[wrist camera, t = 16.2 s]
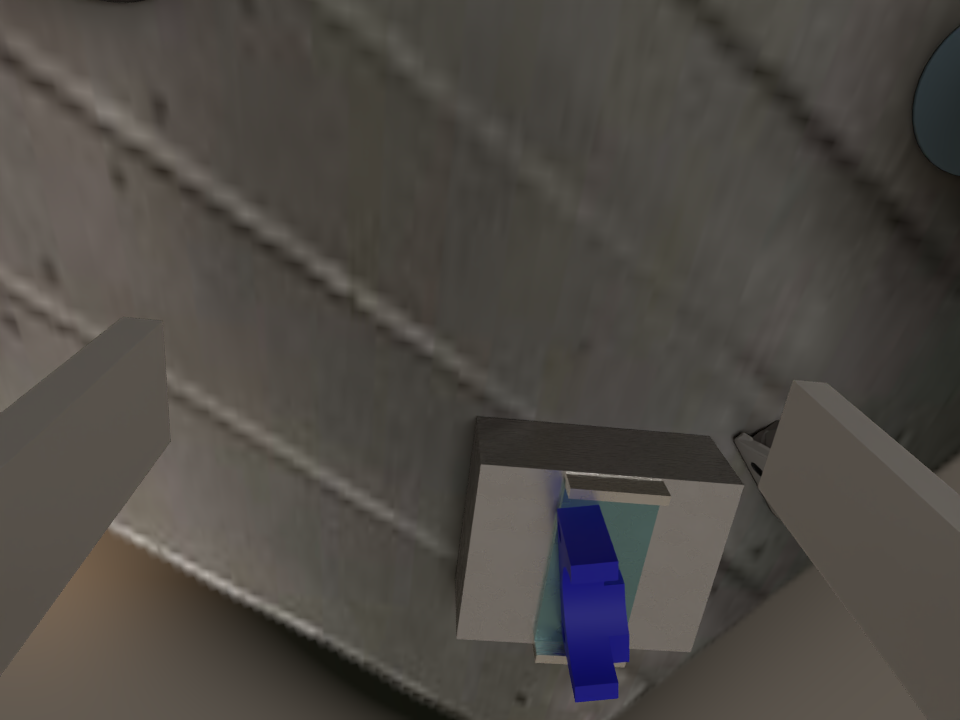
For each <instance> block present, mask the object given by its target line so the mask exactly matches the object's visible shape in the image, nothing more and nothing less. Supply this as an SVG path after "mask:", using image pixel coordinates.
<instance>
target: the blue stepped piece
mask: <svg viewBox="0 0 960 720" xmlns="http://www.w3.org/2000/svg"><path fill="white" fill-rule="evenodd" d="M557 526H558V550H559V574H560V597H561V621H562V638H563V643H564V648H565V653H566V658H567V663H568V668H569V673H570V678H571V683H572V688H573V693H574V698H575V702H585V701H595V700H606V699H616V698H618V680H617V676H616V672H615V667H614V663H621V662H629V629H628V622H627V613H626V603H625V583H624V580H623V577H622V574H621V571H620V570H618V559H617V556H616V553H615V550H614V547H613V544H612V541H611V538H610V535H609V532H608V529H607V527H606V524H605V521H604V518H603V515H602V512H601V509H600V506H599V505H590V506H580V507H569V508H558V509H557Z"/></svg>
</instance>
